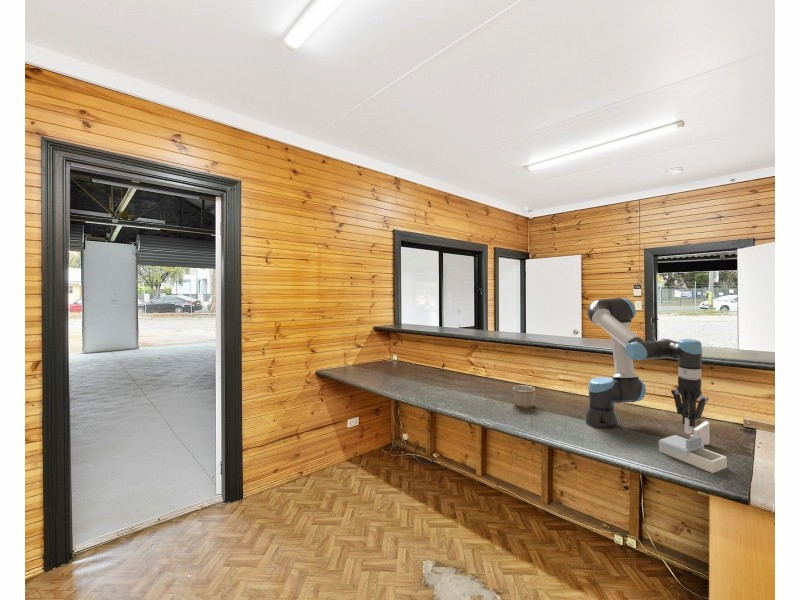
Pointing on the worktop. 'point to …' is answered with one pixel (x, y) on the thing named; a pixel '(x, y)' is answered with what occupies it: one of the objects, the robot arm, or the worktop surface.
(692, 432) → the robot arm
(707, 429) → the white angled block
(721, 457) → the long white channel rail
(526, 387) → the planter
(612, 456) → the worktop surface
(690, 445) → the cover
